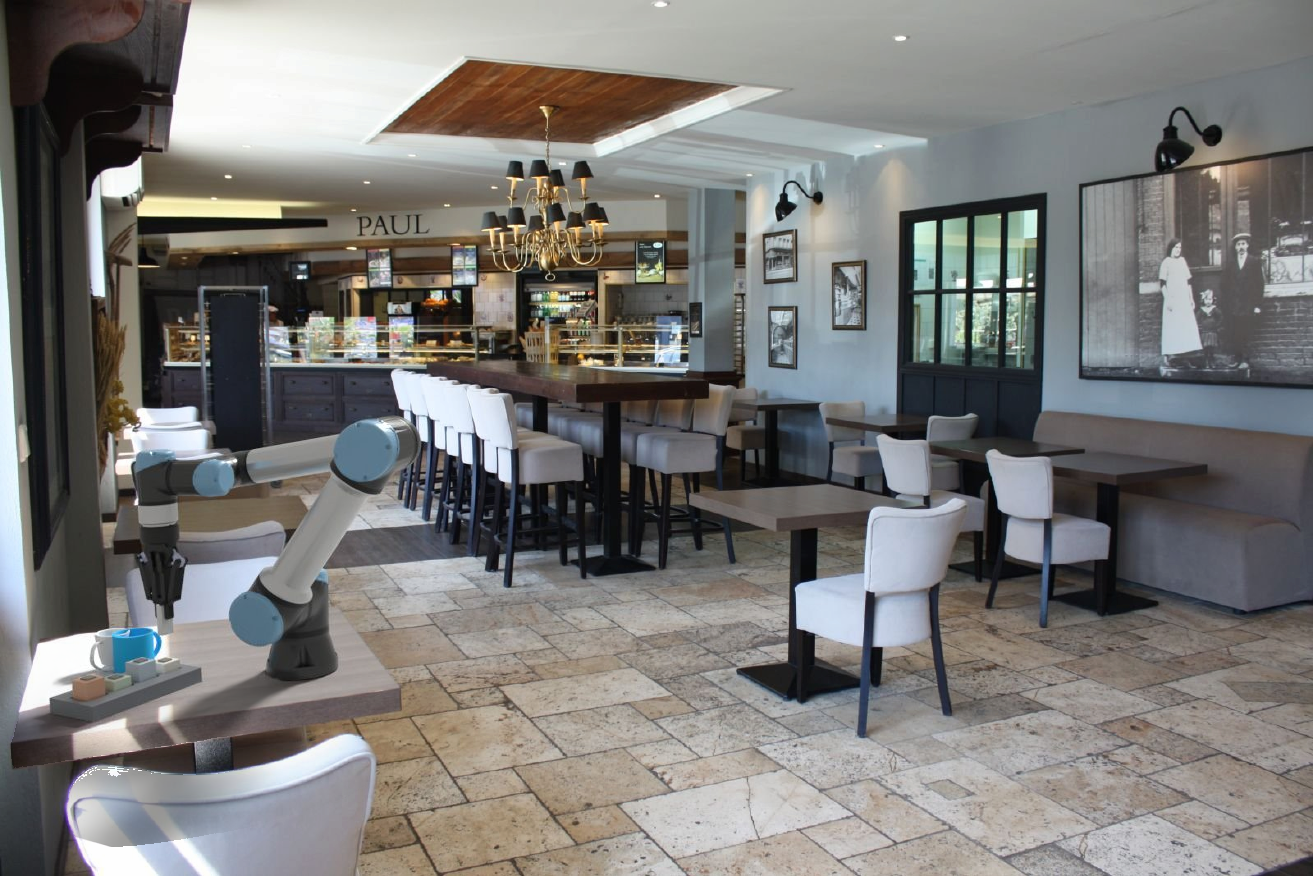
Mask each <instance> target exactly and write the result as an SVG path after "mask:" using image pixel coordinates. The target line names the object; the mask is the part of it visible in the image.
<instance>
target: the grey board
mask: <svg viewBox="0 0 1313 876" xmlns="http://www.w3.org/2000/svg"><path fill="white" fill-rule="evenodd" d="M121 674H124V675H126V672H124V673H121ZM202 676H203V673H202V667H200V666H195V665H189V664H184V663H180V669H178V670H175V671H172V672H169V673H166V674H160V673H156V677H155V678H152V679H150V680H147V681H144V682H141V683H138V682H133V681H131V684H132V686H130V687H127V688H124V689H121V690H119V691H116V692H111V691H106V690H105V695H104V696H102V697H99V698H96V699H93V700H90V701H88V702H87V701H82V700H77V699H73V689H72V690H68V691H65V692H63V693H60V694H57V695H54V696H51V697H49V712H50V714H53V715H59V716H64V717H68V718H72V719H76V720H77V719H78V720H81V721H86V722H91V723H94V722H95V723H96V722H97V721H100V720H103V719H105V718H108V717H110V716H111V717H112V716H114V715H116V714H118V713H122V712H124V711H127V710H129V709H130V710H131V708H135V707H137V706H139V705H140V706H141V705H142V704H146V703H148V702H150V701H153V700H156V699H158V698H161V697H164V696H166V695H169V694H171V693H174V692H177V691H181V690H183V689H185V688H188V687H190V686H193V685H195V684H198V683H201V682H203V681H202V680H203V679H202V678H203V677H202Z"/></svg>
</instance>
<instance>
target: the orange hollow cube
mask: <svg viewBox="0 0 1313 876" xmlns="http://www.w3.org/2000/svg"><path fill="white" fill-rule="evenodd" d="M105 677H106V676H101V675H96V674H92V673H91V674H90V673H89V674H87V675H84V676H81V677H78V678H75V679H72V680H71V687H72V690H73V699H77V700H82V701H87V702H88V701H90V700H93V699H96V698H99V697H102V696H104V695H105Z"/></svg>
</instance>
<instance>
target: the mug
mask: <svg viewBox="0 0 1313 876" xmlns="http://www.w3.org/2000/svg"><path fill="white" fill-rule="evenodd" d="M129 630H130V635H129V637H120V636H117V635H120V634H125V633H127V632H128V631H129ZM154 638H155V641H154ZM112 640H113V661H114V670H113V673H114V674H116V673H118V674H121V673H124V672H126V668H125V663H126V662H129V661H132V660H135V659H138V658H141V657H143V658H149V659H154V660H156V659H155V658H156V657H157V655H159V653H160V651H161V649H162V644H163V643H162V642H163V641H162V637H161V635H158V631H155V630H154V629H153V628H150V627H132V628H125V629H124V630H120V631H117V632H115V633H113V634H112ZM155 642H156V643H155ZM155 644H156V645H155Z"/></svg>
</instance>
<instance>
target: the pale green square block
mask: <svg viewBox="0 0 1313 876" xmlns="http://www.w3.org/2000/svg"><path fill="white" fill-rule="evenodd" d="M104 677H105V690H106V691H111V692H116V691H119V690H121V689H124V688H127V687H130V686H132V684H131V676H129V675H124V674H118V673H114V674H111V675H108V676H104Z"/></svg>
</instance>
